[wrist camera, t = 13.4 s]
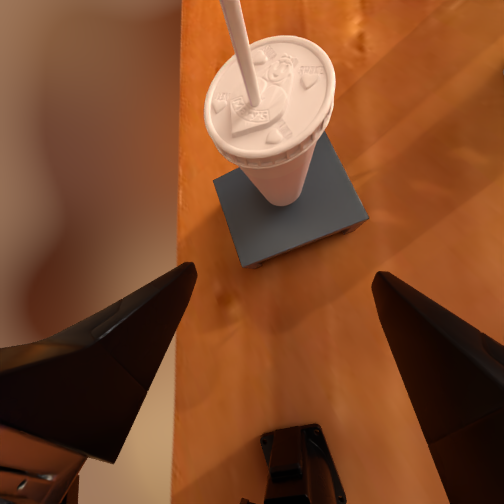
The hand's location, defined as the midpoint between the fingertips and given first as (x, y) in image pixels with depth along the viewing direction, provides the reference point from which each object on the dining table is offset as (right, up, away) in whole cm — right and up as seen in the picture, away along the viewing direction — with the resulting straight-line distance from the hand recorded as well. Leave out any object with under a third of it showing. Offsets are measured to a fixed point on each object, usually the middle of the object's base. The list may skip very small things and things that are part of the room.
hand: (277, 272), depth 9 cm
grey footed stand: (+3, +6, +13) cm, 14 cm away
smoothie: (+2, +7, +9) cm, 12 cm away
